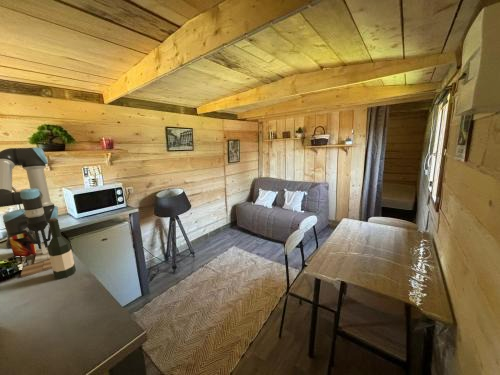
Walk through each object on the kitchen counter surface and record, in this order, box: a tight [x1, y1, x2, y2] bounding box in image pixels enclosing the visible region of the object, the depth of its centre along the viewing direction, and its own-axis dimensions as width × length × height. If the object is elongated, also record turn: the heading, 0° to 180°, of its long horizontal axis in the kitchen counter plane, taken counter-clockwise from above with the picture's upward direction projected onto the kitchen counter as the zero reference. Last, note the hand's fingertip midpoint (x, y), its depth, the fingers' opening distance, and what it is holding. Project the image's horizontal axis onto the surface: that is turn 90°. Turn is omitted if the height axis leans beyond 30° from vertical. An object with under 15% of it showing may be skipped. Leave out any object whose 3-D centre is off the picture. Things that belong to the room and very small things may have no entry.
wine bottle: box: [47, 218, 77, 280], centre depth 105 cm, size 8×8×30 cm
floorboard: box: [20, 260, 53, 278], centre depth 115 cm, size 11×16×2 cm
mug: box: [9, 233, 37, 257], centre depth 129 cm, size 10×14×12 cm
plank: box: [33, 247, 50, 264], centre depth 126 cm, size 18×8×2 cm, turn 41°
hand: (44, 252), depth 126 cm, fingers closed
